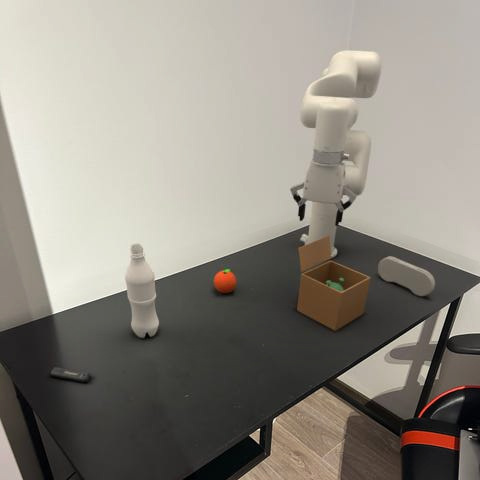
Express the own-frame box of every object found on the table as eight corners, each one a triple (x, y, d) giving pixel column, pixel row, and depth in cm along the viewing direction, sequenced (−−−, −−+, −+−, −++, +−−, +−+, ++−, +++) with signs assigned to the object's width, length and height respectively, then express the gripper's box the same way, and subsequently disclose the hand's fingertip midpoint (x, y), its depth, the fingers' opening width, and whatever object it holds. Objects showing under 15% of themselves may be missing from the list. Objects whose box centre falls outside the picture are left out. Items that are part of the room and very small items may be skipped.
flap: (301, 271, 125) (300, 271, 125) (331, 258, 132) (330, 258, 133) (299, 248, 122) (298, 247, 122) (329, 235, 130) (328, 235, 130)
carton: (296, 310, 132) (300, 274, 125) (325, 295, 139) (330, 260, 133) (335, 331, 123) (341, 293, 117) (363, 313, 131) (370, 277, 125)
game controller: (431, 298, 140) (439, 274, 135) (427, 300, 138) (434, 276, 134) (379, 274, 152) (384, 252, 147) (375, 276, 151) (380, 253, 146)
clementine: (221, 282, 144) (221, 262, 141) (241, 287, 142) (241, 267, 138) (209, 294, 138) (209, 273, 134) (230, 299, 136) (230, 278, 132)
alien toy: (326, 318, 128) (331, 287, 122) (314, 305, 134) (318, 275, 128) (348, 315, 129) (353, 284, 124) (335, 301, 136) (340, 272, 130)
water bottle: (164, 328, 122) (157, 242, 109) (151, 342, 117) (142, 254, 103) (140, 322, 124) (130, 238, 110) (127, 337, 119) (114, 249, 105)
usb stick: (49, 377, 105) (48, 372, 104) (56, 370, 107) (54, 365, 106) (86, 384, 103) (85, 379, 102) (92, 377, 105) (91, 372, 104)
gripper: (364, 156, 114) (353, 221, 123) (297, 149, 118) (291, 212, 128) (361, 164, 108) (349, 231, 117) (290, 156, 112) (284, 222, 122)
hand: (319, 221), depth 122 cm, fingers open, 9 cm apart
